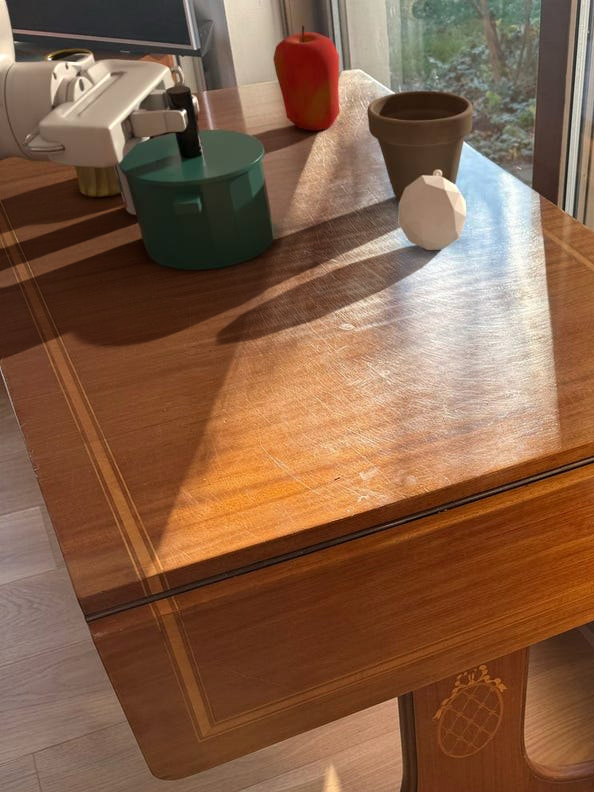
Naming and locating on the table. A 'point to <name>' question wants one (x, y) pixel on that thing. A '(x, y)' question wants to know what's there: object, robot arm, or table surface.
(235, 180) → the pot
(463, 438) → the table surface
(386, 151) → the flower pot
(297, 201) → the table surface
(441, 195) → the ornament
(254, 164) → the lid
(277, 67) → the apple
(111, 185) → the vase
